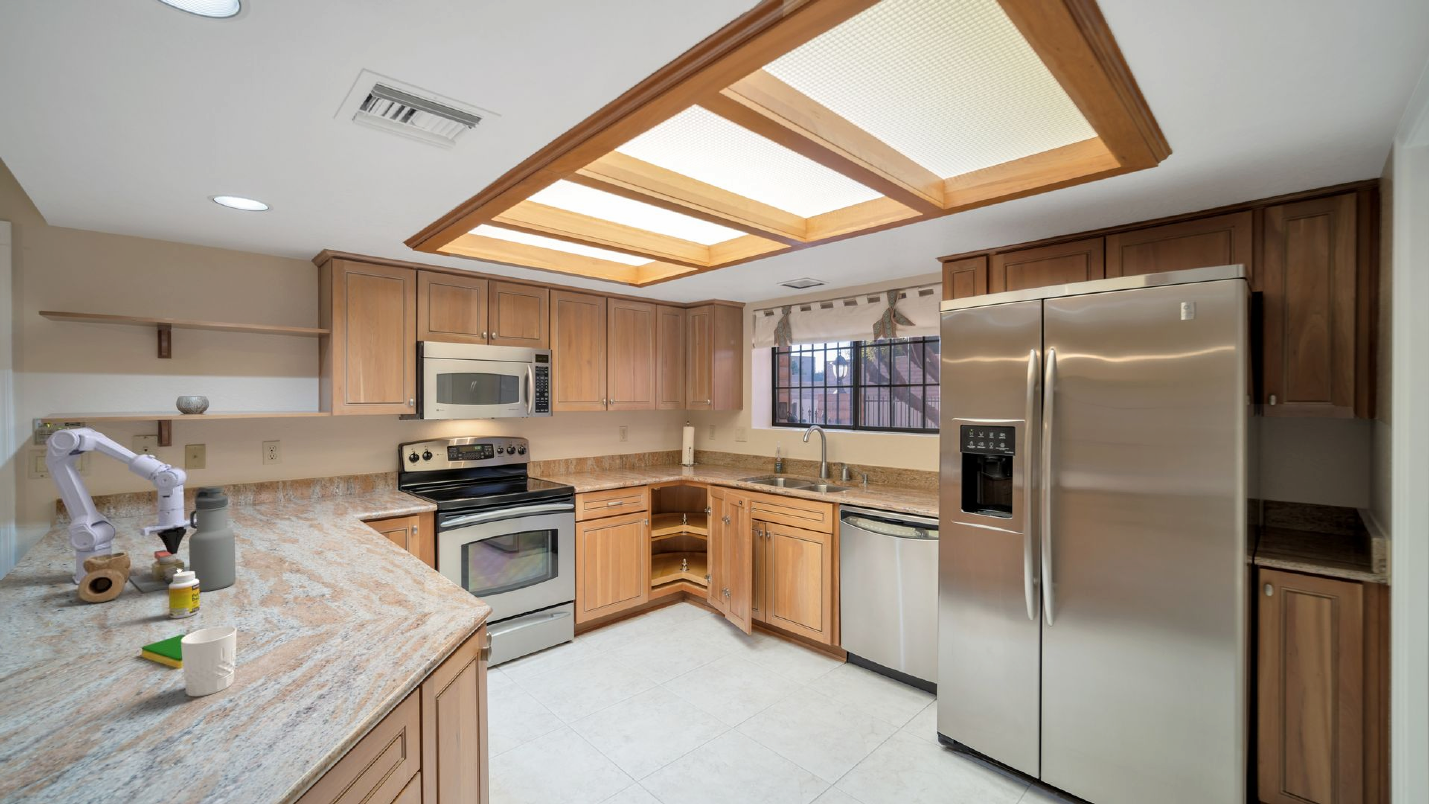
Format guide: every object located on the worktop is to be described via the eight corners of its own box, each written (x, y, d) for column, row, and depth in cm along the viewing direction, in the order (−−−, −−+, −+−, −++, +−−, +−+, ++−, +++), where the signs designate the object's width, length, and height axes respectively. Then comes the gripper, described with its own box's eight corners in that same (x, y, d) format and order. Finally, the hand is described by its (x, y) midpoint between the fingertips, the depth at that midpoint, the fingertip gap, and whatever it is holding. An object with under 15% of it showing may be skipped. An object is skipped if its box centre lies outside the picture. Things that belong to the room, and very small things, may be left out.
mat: (128, 578, 172) (128, 577, 172) (204, 564, 186) (204, 563, 186) (143, 593, 160) (143, 591, 160) (222, 577, 174) (222, 575, 174)
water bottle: (182, 588, 164) (180, 488, 163) (224, 578, 172) (222, 483, 172) (200, 594, 159) (198, 491, 158) (242, 584, 167) (240, 485, 167)
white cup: (204, 678, 113) (203, 626, 113) (247, 676, 114) (246, 625, 114) (170, 699, 106) (168, 644, 105) (217, 697, 106) (216, 642, 106)
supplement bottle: (195, 616, 144) (194, 575, 143) (165, 620, 141) (164, 578, 141) (203, 609, 149) (202, 568, 148) (174, 612, 146) (173, 571, 146)
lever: (177, 562, 172) (177, 556, 172) (160, 565, 170) (160, 558, 170) (167, 555, 180) (167, 549, 180) (151, 557, 177) (151, 552, 177)
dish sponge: (182, 644, 129) (182, 633, 129) (220, 655, 124) (220, 644, 124) (140, 658, 123) (140, 646, 123) (179, 670, 117) (179, 658, 117)
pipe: (75, 608, 149) (74, 568, 149) (87, 591, 162) (86, 554, 162) (126, 599, 155) (125, 562, 155) (133, 584, 168) (132, 549, 167)
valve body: (148, 576, 174) (148, 560, 174) (175, 571, 179) (175, 556, 179) (161, 587, 164) (161, 571, 164) (189, 582, 169) (189, 566, 169)
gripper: (151, 514, 170) (152, 561, 170) (207, 505, 184) (208, 548, 184) (134, 513, 172) (136, 559, 172) (191, 503, 186) (192, 546, 186)
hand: (172, 553), depth 178 cm, fingers closed
